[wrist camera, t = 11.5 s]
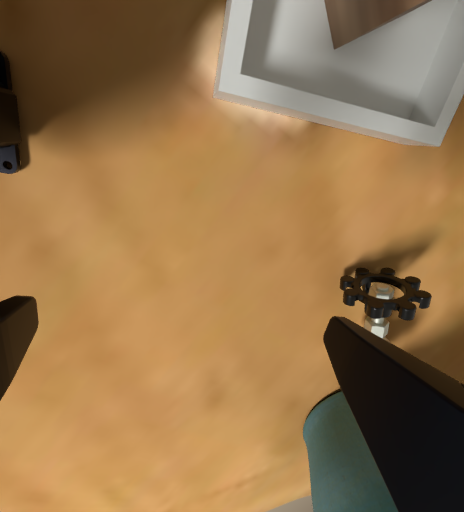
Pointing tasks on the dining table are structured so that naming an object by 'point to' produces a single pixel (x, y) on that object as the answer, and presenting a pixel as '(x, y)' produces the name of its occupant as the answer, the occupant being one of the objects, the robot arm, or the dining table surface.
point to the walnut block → (363, 16)
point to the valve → (383, 297)
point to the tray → (346, 68)
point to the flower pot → (342, 462)
